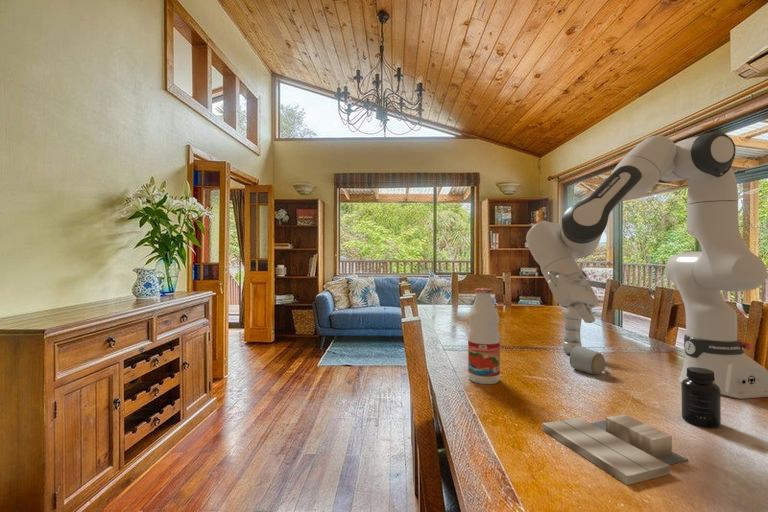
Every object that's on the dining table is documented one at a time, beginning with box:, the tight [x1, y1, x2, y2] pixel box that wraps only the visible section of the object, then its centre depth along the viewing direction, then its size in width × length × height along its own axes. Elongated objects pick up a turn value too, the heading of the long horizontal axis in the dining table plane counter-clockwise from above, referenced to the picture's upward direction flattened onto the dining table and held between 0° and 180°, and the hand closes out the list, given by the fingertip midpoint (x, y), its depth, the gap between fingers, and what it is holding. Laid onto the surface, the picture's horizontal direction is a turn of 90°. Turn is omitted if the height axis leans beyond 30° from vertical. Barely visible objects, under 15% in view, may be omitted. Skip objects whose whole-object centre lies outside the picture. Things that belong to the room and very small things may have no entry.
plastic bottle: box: [562, 307, 583, 355], centre depth 140 cm, size 6×7×20 cm
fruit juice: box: [467, 287, 501, 385], centre depth 113 cm, size 9×9×28 cm
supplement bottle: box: [680, 367, 722, 429], centre depth 84 cm, size 7×7×12 cm
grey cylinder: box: [569, 346, 606, 376], centre depth 120 cm, size 11×8×8 cm
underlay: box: [590, 419, 689, 466], centre depth 76 cm, size 17×7×1 cm, turn 17°
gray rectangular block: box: [605, 413, 673, 458], centre depth 74 cm, size 4×5×10 cm
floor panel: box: [542, 416, 671, 486], centre depth 73 cm, size 20×10×2 cm, turn 17°
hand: (590, 322), depth 92 cm, fingers closed
